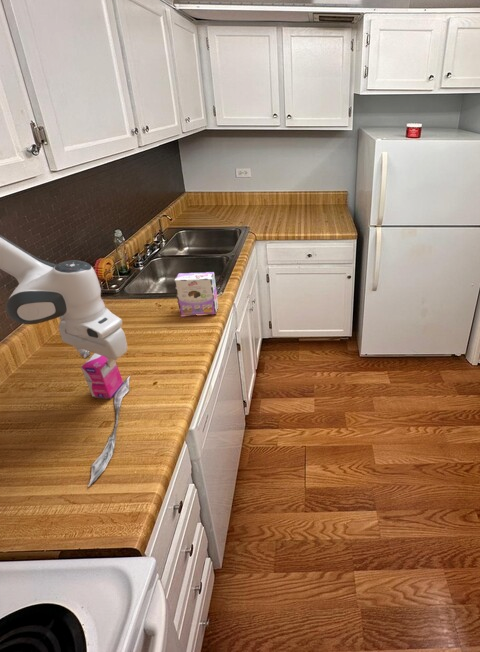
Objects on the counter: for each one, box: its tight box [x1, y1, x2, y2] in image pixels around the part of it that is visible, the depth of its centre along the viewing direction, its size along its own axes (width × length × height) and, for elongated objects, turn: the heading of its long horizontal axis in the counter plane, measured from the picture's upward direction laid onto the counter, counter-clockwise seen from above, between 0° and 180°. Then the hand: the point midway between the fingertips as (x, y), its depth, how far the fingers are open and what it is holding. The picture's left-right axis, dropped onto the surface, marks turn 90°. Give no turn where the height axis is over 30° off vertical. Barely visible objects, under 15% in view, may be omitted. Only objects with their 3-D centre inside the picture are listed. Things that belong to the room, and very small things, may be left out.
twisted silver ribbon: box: [87, 375, 131, 488], centre depth 86 cm, size 32×1×5 cm
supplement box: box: [80, 353, 124, 400], centre depth 93 cm, size 6×6×12 cm
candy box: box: [173, 271, 219, 318], centre depth 128 cm, size 14×6×16 cm, turn 94°
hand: (98, 361), depth 91 cm, fingers open, 8 cm apart
